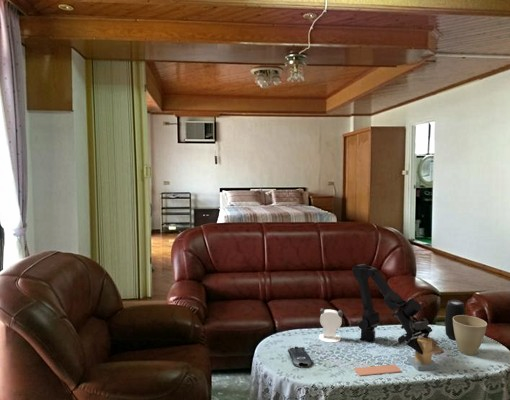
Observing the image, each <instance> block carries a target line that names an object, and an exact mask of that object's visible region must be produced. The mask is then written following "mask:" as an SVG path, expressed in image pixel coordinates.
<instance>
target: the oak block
mask: <svg viewBox="0 0 510 400" xmlns="http://www.w3.org/2000/svg"><path fill="white" fill-rule="evenodd" d="M417 342H418V344H419V346H420V348H421V350H422V352H423V354H422V355H421V354H420V353H418V352H417V351H416V350H414V358H415V361H417V362H419V363H421V364H424V365H425V364H428V363H430V362H431V359H432V355H433V353H432V341H431V340H429V339H426V338H424V337H421V338H418V339H417Z"/></svg>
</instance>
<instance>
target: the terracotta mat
mask: <svg viewBox="0 0 510 400" xmlns="http://www.w3.org/2000/svg"><path fill="white" fill-rule="evenodd" d="M353 370H354V372H355V373H356V374H357V375H358V376H359V377H365V376H366V377H367V376H375V375H386V374H395V373H403V370H402V369H400V368H399V367H398V366H397V364H385V365H375V366H362V367H353Z"/></svg>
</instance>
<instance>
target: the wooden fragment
mask: <svg viewBox="0 0 510 400" xmlns="http://www.w3.org/2000/svg"><path fill="white" fill-rule="evenodd" d="M418 338H419V337H418V336H417V339H418ZM428 339H429V340H431V341H432V354H433V355H435V356H436V355H440V354H442V353H445V350H443V349H442V348H441V347H440V346H439V345H438V341H437V340H435V339H433V338H432V337H430V336H428Z"/></svg>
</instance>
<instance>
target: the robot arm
mask: <svg viewBox="0 0 510 400" xmlns="http://www.w3.org/2000/svg"><path fill="white" fill-rule="evenodd" d="M352 274H353V277H354V279H355V280H356V281H357V282H358V287H359V293H360V297H361V301H362V306H363V312H362V315H361V319H362V320H361V321H360V322H359V323H358V324H357V325H358V328H359V329H360V337H359V340H360V341H364V342H367V343H373V342H374V341H375V340H376V330H375V329H376V328H377V327H378V325H379V324H380V322H381V321H380V320H381V318H380V313H379V311H376V309H375V308H374V305H373V300H372V295H371V289H370V284H369V279H370V278H371V280H372V281H373V282H374V284H375V286H376V287H377V288H378V290H379V291H380V293H381V294H382V296H383V299H384V300H383V302H384V303H385V305H386V307H387V308H388V309H389V310H391V311H392V316H391V318H395V317H396V318H397V320H398V321H399V323H400V324H401V326H400V328H401V329H402V330H404V332H405V333H403V334H402V335H401V336H400V337H398V338H397V341H398V344H399V346H400V345H404V344H405V345H406V346H408V347H409V348H412V350H414V351H415V350H416V351H417V352H418V353H420V354H421V355H422V354H423V352H422V350H421V348H420V346H419V344H418V342H417V336H418V337H419V338H421V337H424V338H426V339H428V337H429V335H430V333H432V332H434V329H432V327H431V326H429V325H430V322H429V320H428V319H427V318H426V317H423V318H422V319H420V320H419V321H417V320H416V319H413V317H415V316H416V315H417V314H418V313H420V312H421V311H422V310H423V307H422V305H421V303H420V302H419V301H418V300H415V298H413V297H412V298H409V299H408V300H405V299H403V298H402V297H401V295H400V294H398V293H397V292H395V291H394V290H393V289H392V288H391V286H390V285H389V284H388V282H387V281H386V279H385V278H384V277H383V276H382V274H381V272H380V270H379V269H378V268H376V267H374V266H370V265H368V264H366V263H362V264H355V265H354V266H353V267H352Z"/></svg>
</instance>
